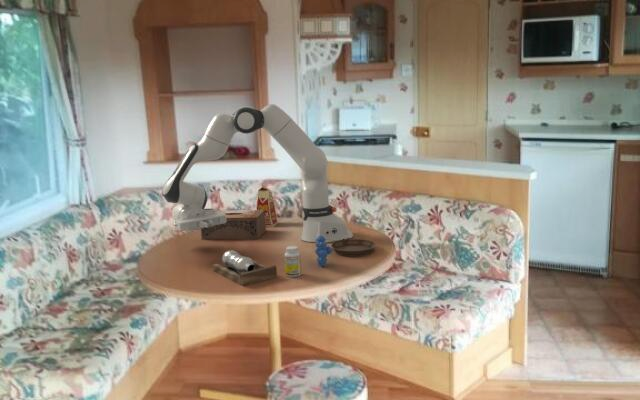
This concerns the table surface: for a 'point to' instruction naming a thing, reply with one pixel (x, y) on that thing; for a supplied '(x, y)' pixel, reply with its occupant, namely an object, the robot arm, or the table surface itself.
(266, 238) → the table surface
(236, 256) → the silver ridged container
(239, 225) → the tissue box cover
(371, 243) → the plant saucer
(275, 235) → the table surface
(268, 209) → the milk carton
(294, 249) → the supplement bottle
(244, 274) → the wooden tray
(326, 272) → the table surface
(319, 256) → the grapes
